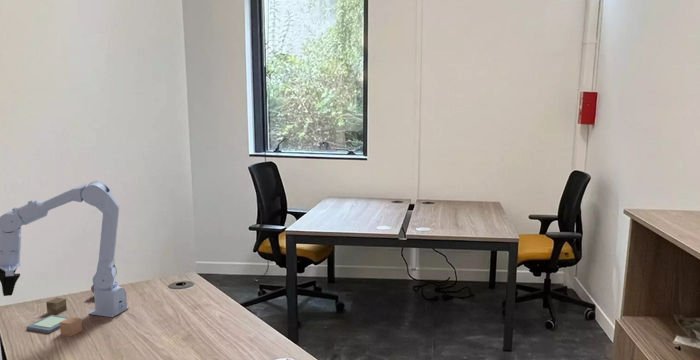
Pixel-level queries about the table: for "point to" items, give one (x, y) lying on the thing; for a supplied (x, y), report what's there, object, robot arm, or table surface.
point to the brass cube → (56, 306)
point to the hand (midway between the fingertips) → (7, 291)
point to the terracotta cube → (70, 326)
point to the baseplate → (47, 324)
